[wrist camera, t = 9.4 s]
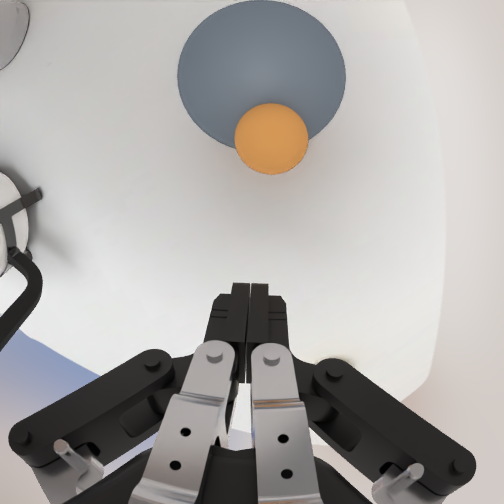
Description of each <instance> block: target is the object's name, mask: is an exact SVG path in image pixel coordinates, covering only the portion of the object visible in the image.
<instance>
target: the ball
mask: <svg viewBox="0 0 504 504" xmlns="http://www.w3.org/2000/svg"><path fill="white" fill-rule="evenodd" d="M307 146H308V132H307V128H306V126H305V124H304V122H303V120H302V119H301V117H300V116H299V115H298V114H297V113H296V112H295V111H293V110H292V109H290V108H289V107H286V106H284V105H281V104H275V103H267V104H261V105H258V106H255V107H253V108H252V109H250V110H249V111H247V112H246V113H245V114H244V115H243V116H242V118H241V119H240V120H239V122H238V124H237V127H236V130H235V147H236V150H237V153H238V155H239V156H240V158H241V159H242V161H243V162H244V163H245V164H246V165H247V166H249V167H250V168H251V169H253V170H255V171H257V172H260V173H264V174H280V173H284V172H286V171H289V170H290V169H292V168H294V167H295V166H296V165H297V164H298V163H299V162H300V161H301V160H302V158H303V157H304V155H305V153H306V150H307Z"/></svg>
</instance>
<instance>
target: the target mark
mask: <svg viewBox="0 0 504 504" xmlns="http://www.w3.org/2000/svg"><path fill="white" fill-rule="evenodd" d="M177 78H178V88H179V93H180V96H181V99H182V102H183V105H184V106H185V108H186V110H187V112H188V114H189V115H190V117H191V118H192V119H193V121H194V122H195V123H196V124H197V125H198V126H199V127H200V128H201V129H202V130H203V131H204V132H205V133H206V134H208V135H209V136H210V137H212V138H213V139H215V140H217V141H218V142H220V143H222V144H225V145H227V146H229V147H232V148H235V149H236V147H235V130H236V127H237V124H238V122H239V120H240V119H241V118H242V116H243V115H244V114H245V113H246V112H247V111H249V110H250V109H252V108H253V107H255V106H258V105H261V104H267V103H275V104H281V105H284V106H286V107H289V108H290V109H292V110H293V111H295V112H296V113H297V114H298V115H299V116H300V117H301V119H302V120H303V122H304V124H305V126H306V128H307V132H308V140H309V139H311V138H312V137H314V136H315V135H316V134H318V133H319V132H320V131H321V130H322V129H323V128H324V127H325V126H326V125H327V124H328V123H329V122H330V120H331V119H332V118H333V117H334V115H335V113H336V111H337V110H338V108H339V106H340V103H341V101H342V98H343V94H344V90H345V81H346V75H345V65H344V60H343V57H342V54H341V51H340V49H339V47H338V45H337V43H336V41H335V39H334V38H333V36H332V35H331V34H330V32H329V31H328V30H327V29H326V28H325V27H324V26H323V24H321V23H320V22H319V21H318V20H317V19H316V18H314V17H313V16H311V15H310V14H308V13H307V12H305V11H303V10H301V9H299V8H297V7H294V6H291V5H288V4H285V3H281V2H276V1H267V0H254V1H246V2H240V3H237V4H233V5H230V6H228V7H225V8H223V9H221V10H219V11H217V12H215V13H214V14H212V15H210V16H209V17H208V18H207V19H205V20H204V21H203V22H202V23H201V24H200V25H199V26H198V27H197V28H196V29H195V30H194V31H193V33H192V34H191V35H190V37H189V38H188V40H187V42H186V44H185V45H184V48H183V50H182V53H181V55H180V60H179V64H178V74H177Z"/></svg>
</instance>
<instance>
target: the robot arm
mask: <svg viewBox="0 0 504 504" xmlns="http://www.w3.org/2000/svg"><path fill="white" fill-rule="evenodd" d="M28 20H29V14H28V9H27V7H26V5H24V4H23V3H20V2H15V1H10V0H0V70H1V69H3V68H4V67H5V66H6V65H8V64H9V62H10V61H11V60H12V59H13V58H14V56H15V55H16V53H17V52H18V50H19V48H20V46H21V44H22V42H23V39H24V37H25V34H26V31H27V26H28ZM245 372H246V383H251V392H250V393H251V394H250V406H251V435H252V448H251V449H245V450H239V451H233V450H229V449H228V441H229V435H230V430H231V425H232V420H233V415H234V410H235V405H236V399H237V394H238V386H239V383H245ZM309 427H310V428H311V429H312V430H313V431H314V432H315V433H316V434H317V435H318V436H320V437H321V438H322V439H323V440H324V441H325V442H326V443H327V444H328V445H330V446H331V447H332V448H333V449H334V450H335V451H336V452H337V453H339V454H340V455H341V456H342V457H343V458H344V459H346V460H347V461H348V462H349V463H350V464H351V465H353V466H354V467H355V468H356V469H358V470H359V471H360V472H361V473H363V475H365V476H366V477H367V478H368V479H370V480H371V481H372V482H373V483H374V484H373V487H372V497H373V499H374V501H375V502H376V503H377V504H442V502H443V501H444V499H445V498H446V497H447V496H448V495H449V494H451V493H452V492H454V491H455V490H457V489H458V488H460V487H462V486H463V485H465V484H466V483H468V482H469V481H470V480H471V479H472V477H473V476H474V474H475V471H476V461H475V458H474V456H473V454H472V453H471V452H470V451H468V450H467V449H466V448H464V447H463V446H461V445H460V444H458V443H457V442H455V441H454V440H452V439H451V438H450V437H448V436H447V435H445V434H444V433H442V432H441V431H440V430H438V429H437V428H435V427H434V426H432V425H431V424H430V423H428V422H427V421H425V420H424V419H423V418H421V417H420V416H418V415H417V414H416V413H414V412H413V411H411V410H410V409H409V408H407V407H406V406H405V405H403V404H402V403H400V402H399V401H398V400H396V399H395V398H394V397H392V396H391V395H390V394H388V393H387V392H385V391H384V390H383V389H381V388H380V387H379V386H377V385H376V384H375V383H373V382H372V381H371V380H369V379H368V378H367V377H365V376H364V375H363V374H361V373H360V372H359V371H357V370H356V369H355V368H353V367H352V366H351V365H349V364H348V363H347V362H345V361H343V360H340V359H336V358H329V359H325V360H322V361H320V362H319V363H318V364H317V365H314V364H310V363H306V362H303V361H301V360H299V359H297V358H296V357H295V356H294V355H293V354H292V353H291V351H290V349H289V339H288V325H287V314H286V303H285V302H284V300H283V299H282V297H281V296H268V284H259V283H252V284H251V295H250V283H233V286H232V291H231V294H220V295H219V296H218V297H217V298H216V299H215V300H214V302H213V306H212V311H211V314H210V318H209V322H208V326H207V330H206V334H205V338H204V342H203V344H201V345H200V346H199V347H198V348H197V349H196V351H195V353H193V354H191V355H189V356H185V357H178V358H171V356H170V355H169V354H168V353H167V352H165V351H163V350H159V349H150V350H146V351H144V352H142V353H140V354H138V355H137V356H135V357H133V358H132V359H130V360H128V361H126V362H125V363H123V364H121V365H120V366H118V367H116V368H114V369H113V370H111V371H109V372H108V373H106V374H104V375H102V376H101V377H99V378H97V379H95V380H94V381H92V382H90V383H88V384H87V385H85V386H83V387H81V388H80V389H78V390H76V391H74V392H72V393H71V394H69V395H67V396H65V397H64V398H62V399H60V400H58V401H56V402H55V403H53V404H51V405H49V406H47V407H45V408H44V409H42V410H40V411H38V412H36V413H34V414H33V415H31V416H29V417H27V418H25V419H23V420H21V421H20V422H18V423H16V424H15V425H14V426H13V427H12V428H11V430H10V433H9V437H8V439H9V445H10V447H11V449H12V450H13V451H14V452H15V453H16V454H17V455H19V456H20V457H21V458H22V459H23V460H24V461H25V462H26V463H27V464H28V465H29V466H30V467H31V468H32V470H33V472H34V474H35V476H36V478H37V480H38V482H39V483H40V486H41V487H42V489H43V491H44V493H45V494H46V496H47V498H48V500H49V502H50V503H51V504H373V503H372V502H370V501H369V500H368V499H367V498H366V497H365V496H364V495H362V494H361V493H360V492H359V491H358V490H357V489H356V488H355V487H353V486H352V485H351V484H350V483H349V482H348V481H347V480H346V479H345V478H344V477H343V476H342V475H340V474H339V473H338V472H337V471H336V470H335V469H334V468H333V467H332V466H331V465H329V464H328V463H326V462H325V461H323V460H321V459H319V458H317V457H315V456H313V450H312V444H311V438H310V432H309ZM158 431H159V432H158ZM156 432H158V434H157V437H156V440H155V443H154V445H153V447H152V448H150V449H147V450H145V451H143V452H142V453H140V454H138V455H137V456H135V457H134V458H133V459H131V460H130V461H128V462H127V463H125V464H124V465H122V466H121V467H120V468H118V469H117V470H115V471H114V472H112V473H111V474H109V475H108V476H106V477H105V478H104V479H102V477H103V474H104V468H103V467H104V466H105V465H107V464H109V463H110V462H112V461H113V460H115V459H117V458H118V457H120V456H121V455H123V454H125V453H126V452H128V451H129V450H131V449H132V448H134V447H135V446H137V445H138V444H140V443H141V442H143V441H144V440H146V439H147V438H149V437H150V436H152V435H153V434H155V433H156Z"/></svg>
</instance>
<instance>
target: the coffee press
mask: <svg viewBox="0 0 504 504" xmlns="http://www.w3.org/2000/svg"><path fill="white" fill-rule="evenodd" d="M41 199H42V198H41V195H40V192H39V189H36V190H34V191H32V192H30V193H28V194H26V195H24V196H23V197H21V195H20V193H19V191H18V190H17V188H16V186H15V185H14V184H13V182H12V181H11V180H10V179H9V178H8V177H7V176H6V175H4V174H3V173H1V172H0V277H1V276H2V275H3V274H5V273H6V272H7V271H8V270H9V269H10V268H11V267H12V266H14V267H15V268H16V269H17V270H18V271H20V272H21V273H22V274H23V275H24V276H25V278H26V279H27V282H28V285H27V287H26V289H25V291H24V292H23V293H22V294H21V295H20V296H19V297H18V298H17V300H16V301H15V302H14V303H13V304H12V305H11V306H10V307H9V308H8V309H7V311H6V312H5V313H4V314H3V315H2V316H1V317H0V351H1V350H2V349H3V347H4V346H5V345H6V344H7V342H8V341H9V340H10V338H11V337H12V336H13V335H14V334H15V332H16V331H17V330H18V329H19V327H20V326H21V325H22V324H23V322H24V321H25V320H26V319H27V317H28V316H29V315H30V314H31V312H32V311H33V310H34V308H35V307H36V305H37V304H38V302H39V300H40V297H41V293H42V284H43V280H42V275H41V272H40V270H39V269H38V267H37V266H36V265H35V263H34V262H33V261H32V255H31V253H30V252H29V251H27V250H25V248H26V245H27V241H28V232H29V226H28V217H27V212H26V209H25V208H26V207H28V206H30V205H31V204H33V203H35V202H37V201H39V200H41Z"/></svg>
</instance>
